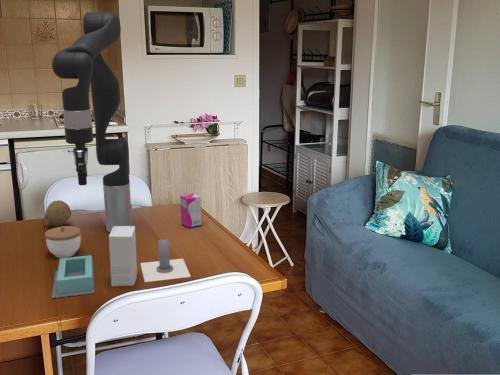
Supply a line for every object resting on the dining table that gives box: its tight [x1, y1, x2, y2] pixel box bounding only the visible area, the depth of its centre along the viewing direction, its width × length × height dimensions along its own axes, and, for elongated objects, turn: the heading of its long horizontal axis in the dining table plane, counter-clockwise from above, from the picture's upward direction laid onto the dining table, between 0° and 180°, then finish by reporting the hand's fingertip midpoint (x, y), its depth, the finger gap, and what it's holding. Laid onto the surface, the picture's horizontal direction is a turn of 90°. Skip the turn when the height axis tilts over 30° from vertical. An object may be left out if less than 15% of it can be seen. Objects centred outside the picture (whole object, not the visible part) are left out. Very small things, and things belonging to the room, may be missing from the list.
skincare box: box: [108, 225, 138, 287], centre depth 147 cm, size 8×7×16 cm
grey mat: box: [50, 266, 96, 300], centre depth 149 cm, size 18×12×1 cm, turn 16°
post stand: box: [140, 238, 191, 283], centre depth 155 cm, size 14×13×10 cm
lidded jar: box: [44, 225, 82, 259], centre depth 169 cm, size 11×11×9 cm
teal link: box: [57, 254, 94, 295], centre depth 149 cm, size 16×9×4 cm, turn 16°
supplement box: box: [179, 193, 202, 229], centre depth 196 cm, size 6×6×12 cm
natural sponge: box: [44, 199, 72, 228], centre depth 195 cm, size 9×9×10 cm
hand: (83, 181), depth 153 cm, fingers open, 8 cm apart
